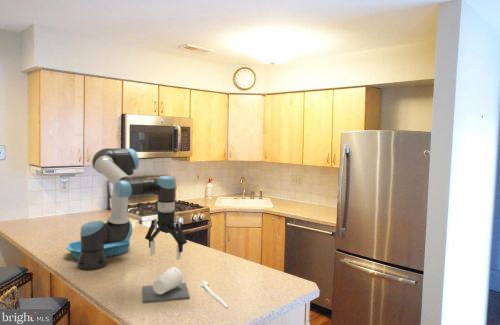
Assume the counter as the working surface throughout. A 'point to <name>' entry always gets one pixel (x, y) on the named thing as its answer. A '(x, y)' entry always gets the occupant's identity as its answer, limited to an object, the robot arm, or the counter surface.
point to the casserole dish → (108, 248)
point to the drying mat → (165, 294)
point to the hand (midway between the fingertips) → (165, 256)
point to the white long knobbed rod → (205, 285)
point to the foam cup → (168, 280)
